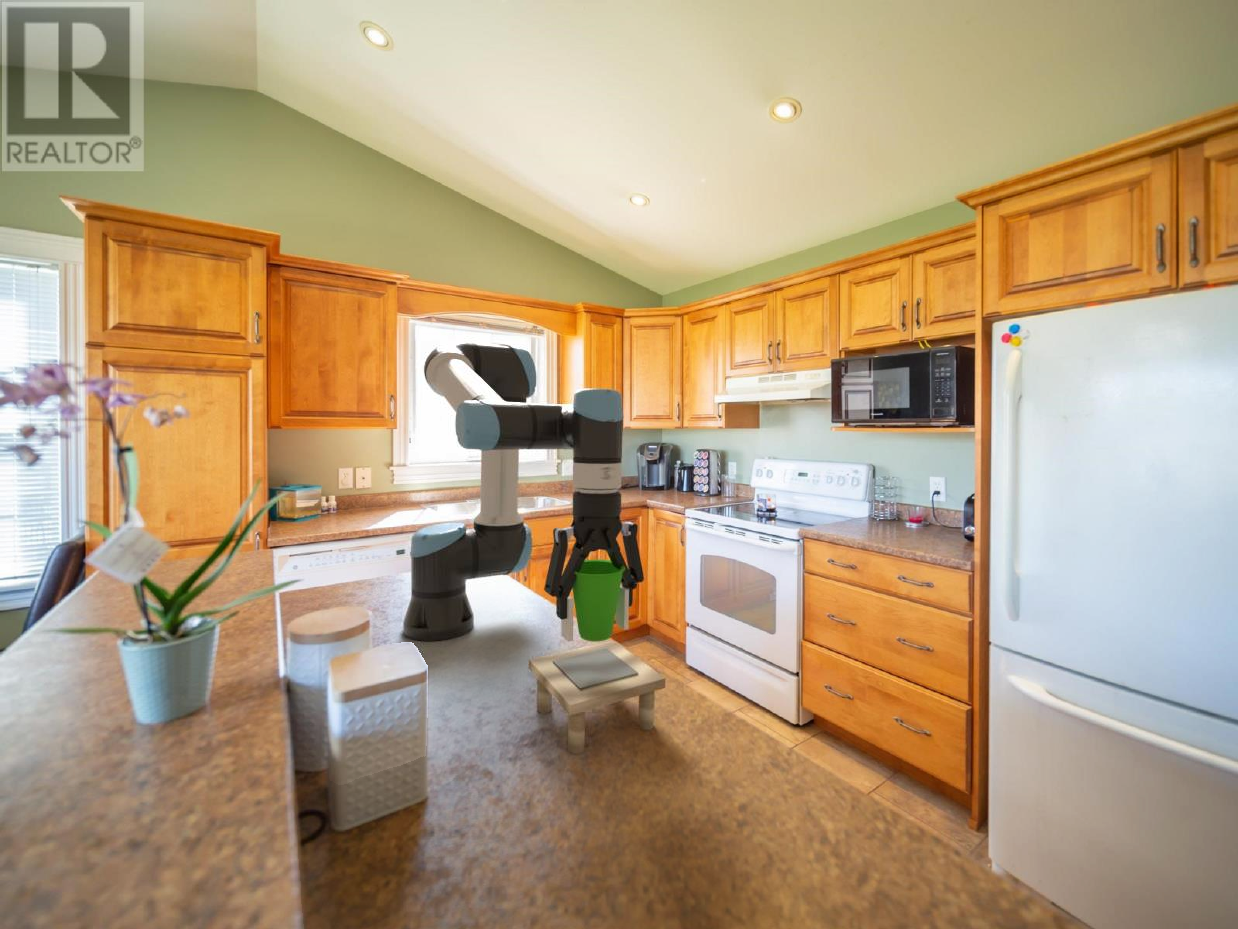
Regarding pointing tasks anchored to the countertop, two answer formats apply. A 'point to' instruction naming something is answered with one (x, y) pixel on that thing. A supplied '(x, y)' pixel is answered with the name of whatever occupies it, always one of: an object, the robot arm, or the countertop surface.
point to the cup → (596, 598)
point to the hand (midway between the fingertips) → (595, 632)
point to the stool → (594, 684)
